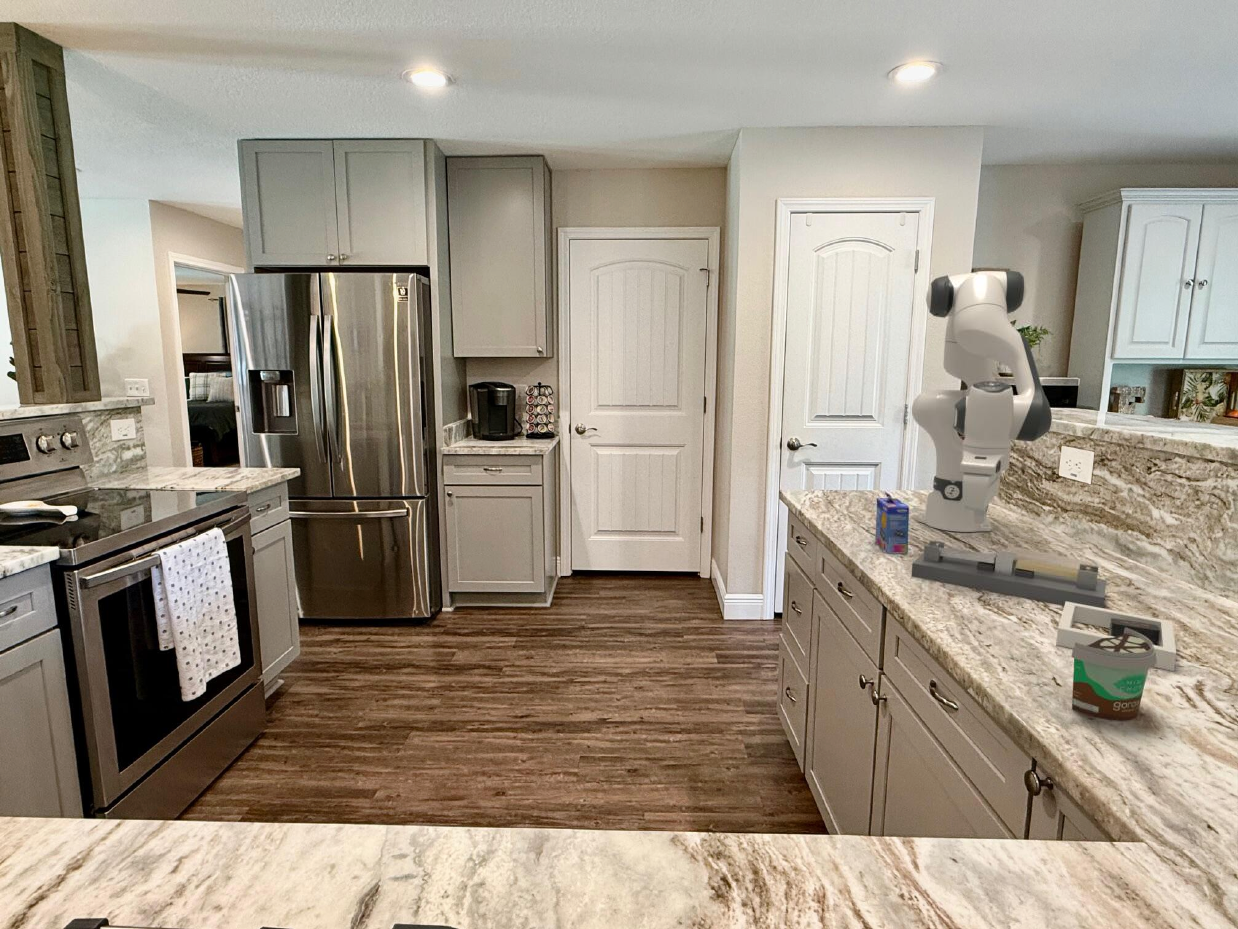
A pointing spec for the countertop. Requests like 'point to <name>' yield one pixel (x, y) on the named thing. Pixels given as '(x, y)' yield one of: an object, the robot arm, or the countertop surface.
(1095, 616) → the white square frame
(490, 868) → the countertop surface
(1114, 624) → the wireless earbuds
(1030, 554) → the washcloth
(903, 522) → the ink cartridge box
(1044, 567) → the brass strap
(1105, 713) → the food container
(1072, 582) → the lug board
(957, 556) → the steel strap
